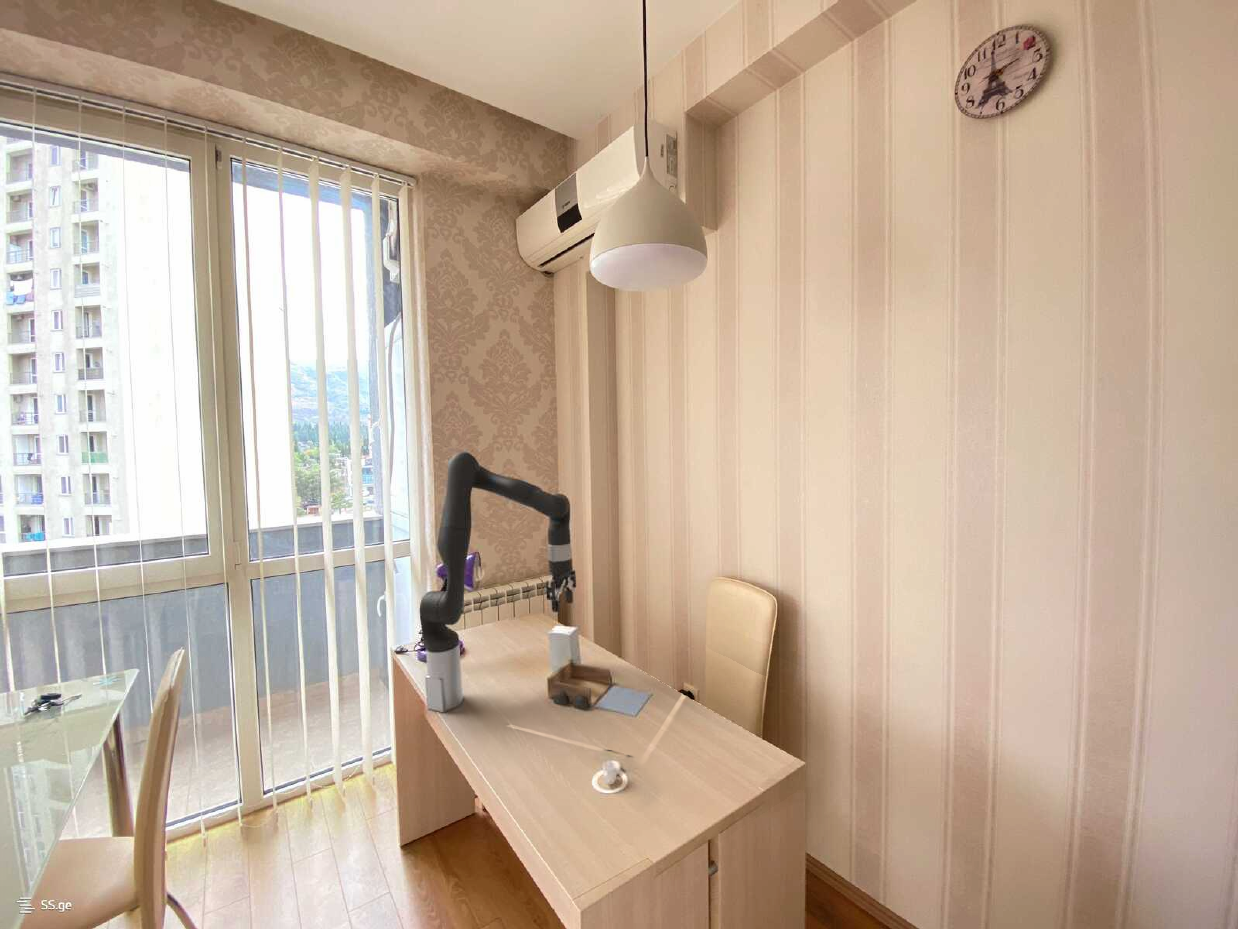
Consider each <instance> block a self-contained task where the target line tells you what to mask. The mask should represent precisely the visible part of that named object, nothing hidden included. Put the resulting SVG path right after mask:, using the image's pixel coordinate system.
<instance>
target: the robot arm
mask: <svg viewBox="0 0 1238 929" xmlns="http://www.w3.org/2000/svg"><path fill="white" fill-rule="evenodd" d="M446 475H447V478H446V481H447V482H446V493H445V494H446V495H445V500H444V504H443V508H442V513H441V520H440V524H439V527H438V528H439V529H438V535H437V542H436V544H437V551H438V553H439V556H440V559H441V562H442V563H443V565H444V568H445V571H446V580H447V582H446V591H441V590H432V591H428V592H426V593H425V594H424V595H423V596H422V598H421V601H420V604H419V620H420V628H421V635H422V641H423V642H424V644H425V654H426V656H425V658H426V669H427V671H426V672H427V675H426V676H425V677H424V682H425V683H424V684H425V696H426V708H427V709H429V710H433V711H435V712H440V713H444V712H446V711H448V710H452V709H454V708H456V707H458V706H460V705H461V704H462V702H463V701H464V700H463V699H464V698H463V697H464V694H463V683H462V682H463V681H462V680H463V679H462V667H461V665H462V664H461V651H460V636H459V633H458V632H457V631H455V630H453V629H451V628H450V627H449V626H453V625H455V624H457V623H458V622H459V620H461V619H460V618H461V617H462V614H463V608H464V599H465V584H466V583H465V580H466V567H467V560H468V552H469V547H470V541H471V533H472V506H471V504H472V503H471V500H472V498H471V497H472V490H473V489H478V490H482V491H486V492H489V493H493V494H496V495H498V496H501V497H503V498H505V499H507V500H510V501H513V502H516V503H517V504H520V505H523V506H525V507H529V508H532V509H533V510H536V511H537V512H539V513H541V514H543V515H544V516H547V517H548V518H549V525H548V529H547V539H548V540H547V541H548V542H547V543H548V549H547V559H548V572H549V573H550V574H551V575H552V577H551V578H552V579H551V580H546V582H545V586H546V587H545V590H546V601H550V602H551V611H552V612H554V613H558V612H560V600H559V598H560V596H561V594H562V593H563V590H565V603H566V604H572V603H573V602H574V597H573V596H574V595H573V594H574V593H573V592H574V589H575V588H577V578H576V577H577V576H576V569H573V568H574V567H573V550H572V543H571V542H572V541H571V530H570V528H571V527H570V521H571V502H570V500H569V498H568V497H567V496H566V495H564V494H562V493H556V494H552V493H550V492H547V491H545V490H543V489H542V488H541V487H539V486H538V485H535V484H532V483H530V482H528V481H525V480H523V479H519V478H515V477H509V476H504V475H501V474H499V473H495V472H494V471H493V472H492V471H491V470H489V469H487V468H485V467H483V466H482V465H481V464H480V463H479V462H478V460H477V458H476V456H474V455H472V454H471V453H469V452H467V451H459V452H458V453H456V454H454V455H453V456H452V457H451V458H450V459H449V462H448V465H447V474H446Z"/></svg>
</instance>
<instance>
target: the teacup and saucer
mask: <svg viewBox="0 0 1238 929" xmlns="http://www.w3.org/2000/svg"><path fill="white" fill-rule="evenodd" d="M621 769H622V766H621V763H620V762H619V761H617V760H607V761H605V762H603V763H602V770H600V771H598V772H596V773H595V774H594V775H593V777H592V780H591V784H592V787H593V789H595V790H596V791H597V792H599V793H601V794H607V795H611V794H616V793H618V792H619V793H620V792H621V791H622V790H623V789H625V788H626V786H628V785H627V784H628V780H629V778H628V776H627V774H626V773H625V772H624V771H622V770H621ZM617 775H619V776H620V777H621V779H622V783H621V785H620V786H618V787H617V788H614V789H610V790H609V789H603V788H602V787H600V786H599V784H598V779H599V778H600V777H601V776H603V779H604V782H605V783H606V784H607V785H613V784H615V783H616V780H617Z"/></svg>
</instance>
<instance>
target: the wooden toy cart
mask: <svg viewBox="0 0 1238 929" xmlns="http://www.w3.org/2000/svg"><path fill="white" fill-rule="evenodd" d="M612 682H613V678H612V675H611V669H609V668H603V667H597V666H592V665H587V664H582V663H581V664H577V663H573V660H572V659H570V660H569V661H567V662H566V663H565V664H564V665H563V666H561V667H560V668H559V669H558V670H557V671H555V672H554V673H553V674H552V673H551V674H550V675H549V676H548V677H547V683H546V684H547V698H548V699H549V700H553V702H554V705H559V706H564V707H566V706H567V705H568V704H571V705H573V708H574V709H577V710H581V711H586V710H587V709H591V708H592V707H594V705H595V704H597V702H599V699H601V697H602V696H604V694H605V693H607V692H608V690H610V689H611V688H612V687H611V686H612Z"/></svg>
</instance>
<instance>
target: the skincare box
mask: <svg viewBox="0 0 1238 929" xmlns="http://www.w3.org/2000/svg"><path fill="white" fill-rule="evenodd" d="M578 629H579V628H578V627H577V626H567V625H566V626H565V625H555V626H554V627H553V628H552V629H550V630H549V631H548V632H547V634H548V635H547V636H548V642H549V643H548V644H549V645H548V646H549V656H550V664H551V675H552V674H553V673H554V672H555V671H557V670H558V669H559V668H560V667H561V666H563V665H564V664H565V663H566V662H567V661H569V660H570V659H572V660H573V663H577V664H582V659H581V649H580V639H579V630H578Z"/></svg>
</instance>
